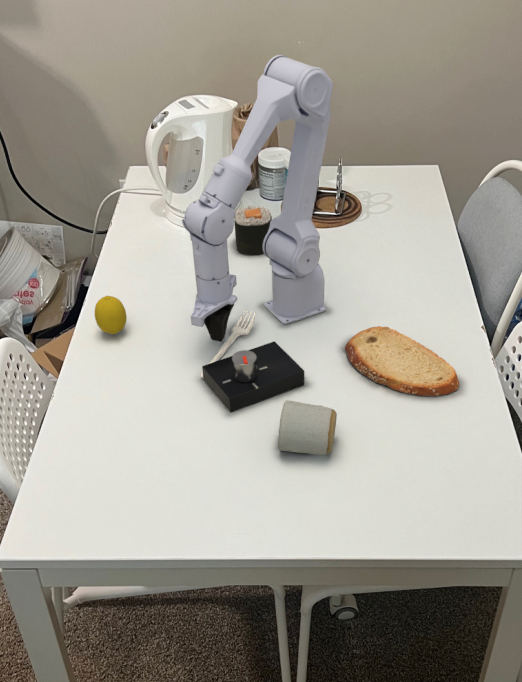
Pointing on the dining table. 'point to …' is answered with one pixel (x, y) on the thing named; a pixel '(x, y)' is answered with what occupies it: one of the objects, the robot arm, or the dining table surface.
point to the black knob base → (271, 380)
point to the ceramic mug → (306, 428)
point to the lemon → (110, 315)
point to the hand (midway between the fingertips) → (217, 338)
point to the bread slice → (400, 363)
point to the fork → (235, 335)
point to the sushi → (251, 229)
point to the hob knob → (244, 366)
